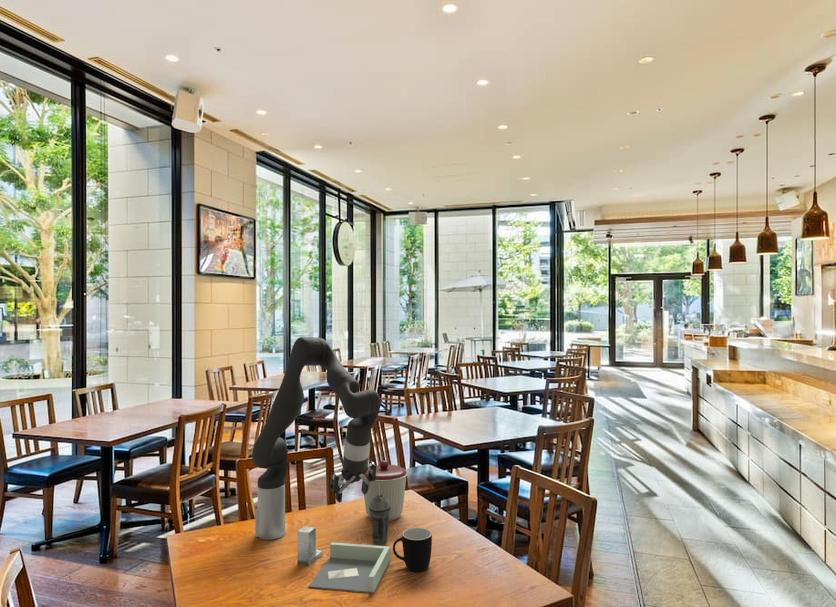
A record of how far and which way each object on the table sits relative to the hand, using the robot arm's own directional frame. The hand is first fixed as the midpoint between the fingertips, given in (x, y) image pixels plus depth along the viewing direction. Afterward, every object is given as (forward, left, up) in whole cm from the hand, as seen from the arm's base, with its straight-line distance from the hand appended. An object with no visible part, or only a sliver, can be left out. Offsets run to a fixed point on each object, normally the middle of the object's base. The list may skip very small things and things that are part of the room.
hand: (351, 496), depth 160 cm
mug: (+18, +2, -21) cm, 28 cm away
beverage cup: (+4, +17, -21) cm, 28 cm away
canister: (0, +39, -21) cm, 45 cm away
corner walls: (+1, -5, -21) cm, 21 cm away
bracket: (-14, +2, -21) cm, 26 cm away
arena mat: (+1, -5, -21) cm, 21 cm away
